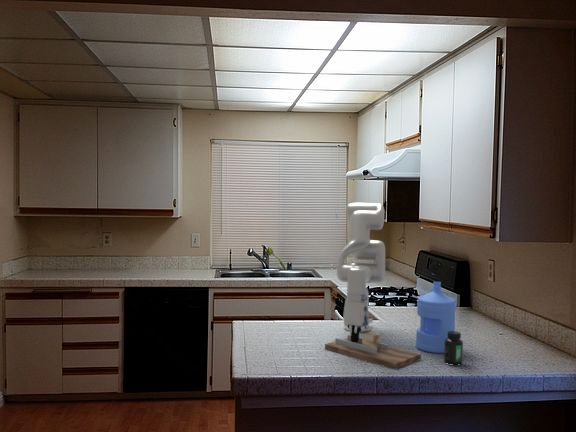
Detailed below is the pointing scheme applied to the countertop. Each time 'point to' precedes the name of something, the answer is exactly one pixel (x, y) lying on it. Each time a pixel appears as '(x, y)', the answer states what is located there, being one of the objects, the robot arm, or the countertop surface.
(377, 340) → the block
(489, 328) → the countertop surface
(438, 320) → the water jug
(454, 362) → the supplement bottle
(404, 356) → the deck
